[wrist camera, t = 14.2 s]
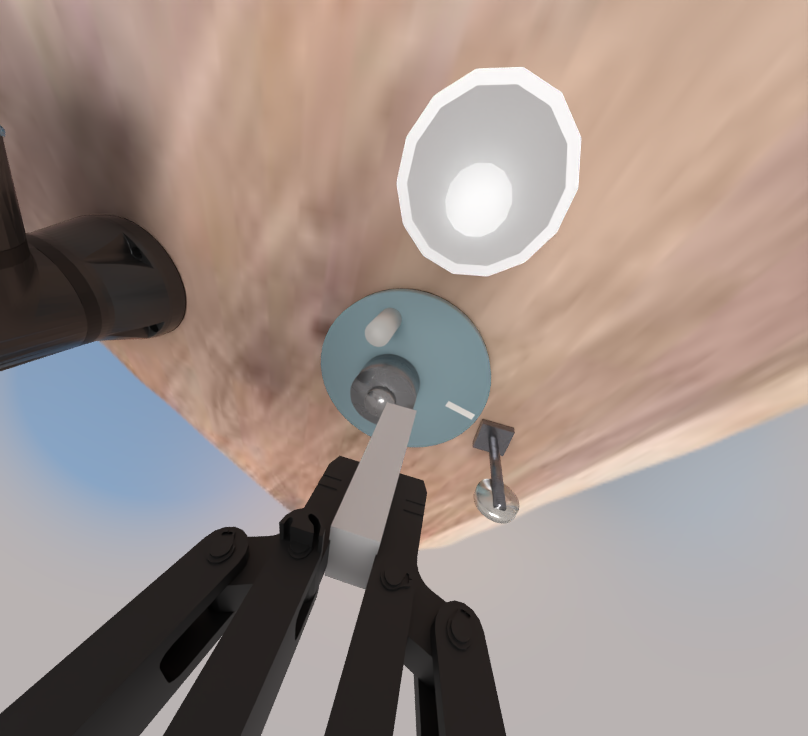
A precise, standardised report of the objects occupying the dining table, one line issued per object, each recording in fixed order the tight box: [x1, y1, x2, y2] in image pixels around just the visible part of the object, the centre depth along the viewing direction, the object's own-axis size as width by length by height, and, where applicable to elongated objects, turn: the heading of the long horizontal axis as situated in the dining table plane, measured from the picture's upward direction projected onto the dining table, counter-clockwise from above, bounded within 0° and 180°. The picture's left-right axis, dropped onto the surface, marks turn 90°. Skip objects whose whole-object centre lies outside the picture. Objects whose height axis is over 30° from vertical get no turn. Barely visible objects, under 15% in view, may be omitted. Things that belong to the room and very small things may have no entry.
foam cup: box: [396, 67, 581, 276], centre depth 21 cm, size 10×9×13 cm
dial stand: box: [473, 419, 519, 523], centre depth 33 cm, size 4×4×12 cm
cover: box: [350, 354, 420, 425], centre depth 32 cm, size 7×7×5 cm
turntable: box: [321, 289, 491, 447], centre depth 32 cm, size 20×20×7 cm
